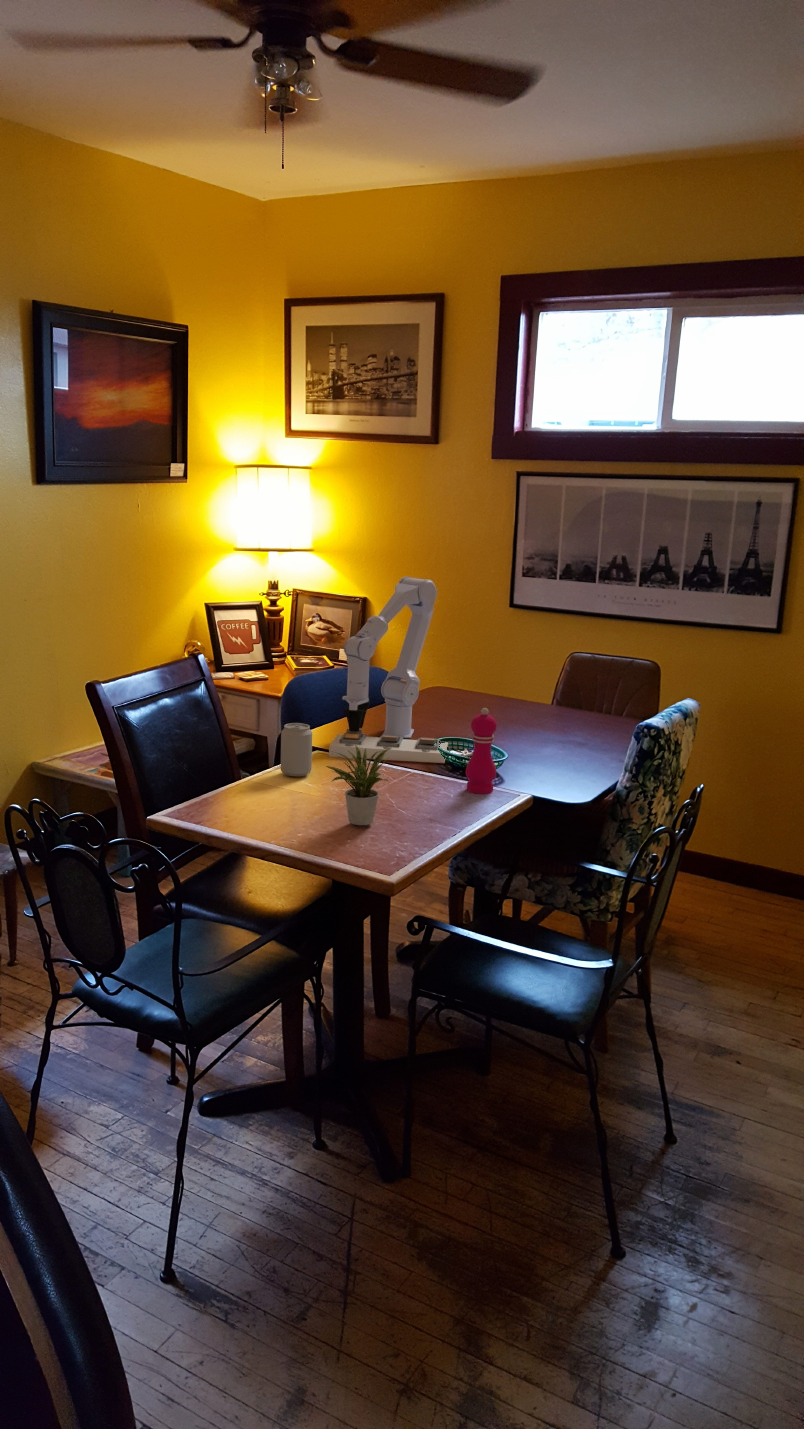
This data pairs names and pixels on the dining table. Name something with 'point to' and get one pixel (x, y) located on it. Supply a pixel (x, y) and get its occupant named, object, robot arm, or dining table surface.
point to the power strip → (399, 751)
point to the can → (296, 749)
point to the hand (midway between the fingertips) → (356, 730)
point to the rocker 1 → (353, 735)
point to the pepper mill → (482, 755)
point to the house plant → (361, 787)
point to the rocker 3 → (428, 740)
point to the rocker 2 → (389, 738)
